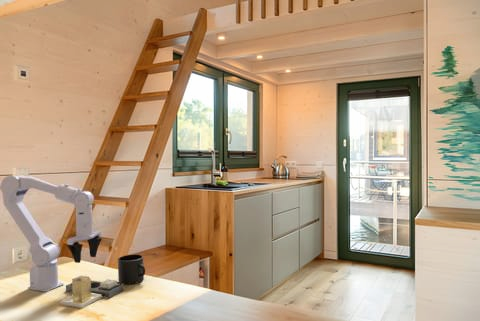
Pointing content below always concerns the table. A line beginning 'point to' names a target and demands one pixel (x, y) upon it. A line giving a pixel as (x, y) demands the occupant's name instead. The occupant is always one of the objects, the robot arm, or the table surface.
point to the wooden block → (81, 289)
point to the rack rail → (102, 287)
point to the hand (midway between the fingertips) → (85, 259)
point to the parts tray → (70, 302)
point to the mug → (130, 269)
